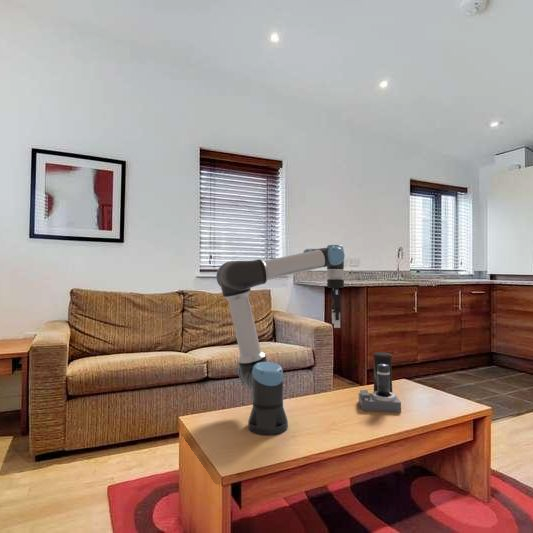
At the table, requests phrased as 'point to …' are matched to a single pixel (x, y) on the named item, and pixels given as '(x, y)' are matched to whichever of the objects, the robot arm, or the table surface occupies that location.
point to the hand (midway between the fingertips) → (335, 325)
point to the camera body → (378, 402)
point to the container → (382, 359)
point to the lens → (383, 380)
